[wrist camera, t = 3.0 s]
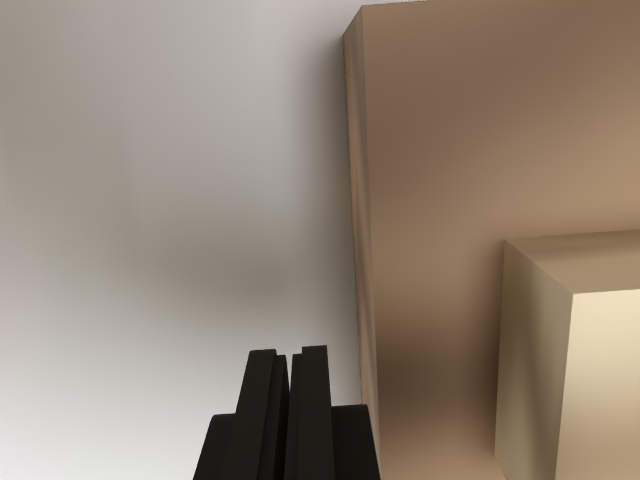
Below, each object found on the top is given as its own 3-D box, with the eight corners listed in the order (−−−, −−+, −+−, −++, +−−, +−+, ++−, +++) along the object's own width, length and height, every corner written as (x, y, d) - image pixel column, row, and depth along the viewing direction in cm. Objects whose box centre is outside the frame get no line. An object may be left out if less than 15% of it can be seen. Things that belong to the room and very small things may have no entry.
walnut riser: (342, 35, 15) (362, 5, 9) (857, -4, 15) (1193, -58, 9) (364, 452, 20) (386, 600, 14) (752, 425, 20) (930, 562, 14)
